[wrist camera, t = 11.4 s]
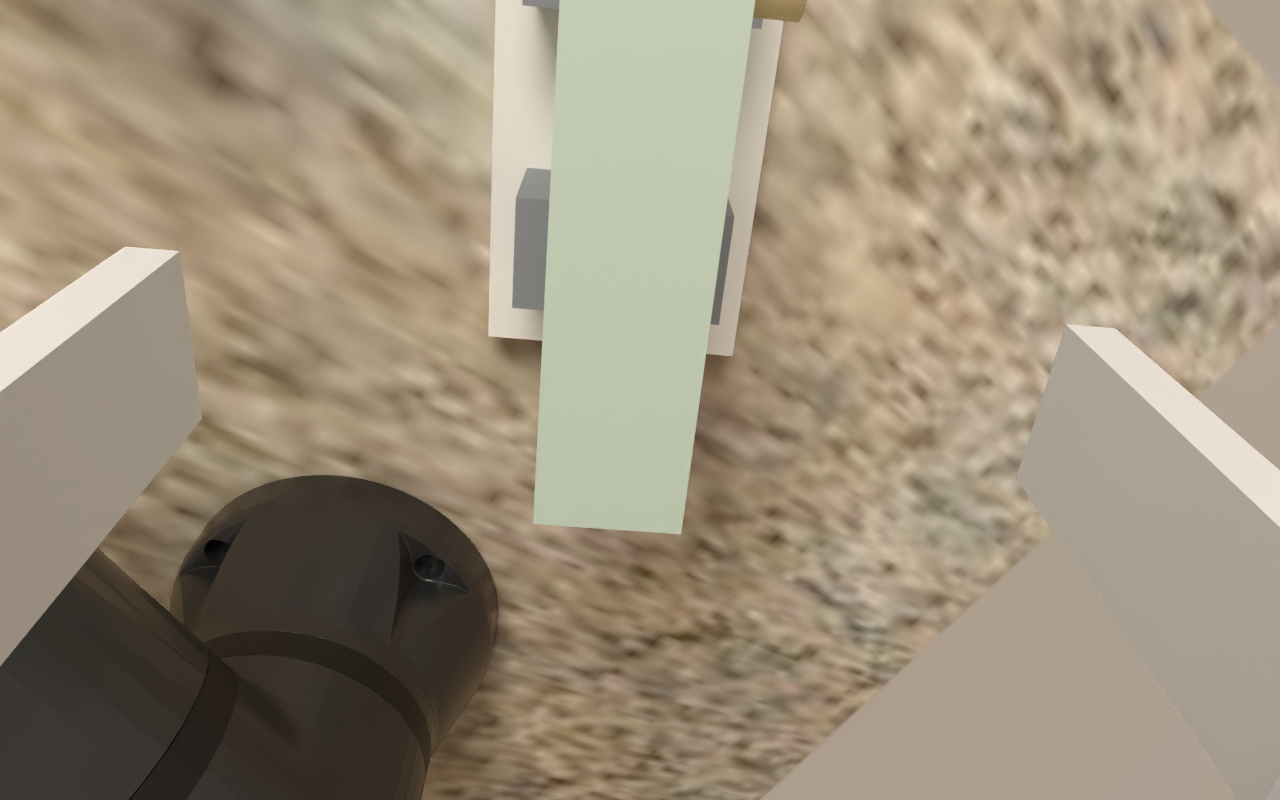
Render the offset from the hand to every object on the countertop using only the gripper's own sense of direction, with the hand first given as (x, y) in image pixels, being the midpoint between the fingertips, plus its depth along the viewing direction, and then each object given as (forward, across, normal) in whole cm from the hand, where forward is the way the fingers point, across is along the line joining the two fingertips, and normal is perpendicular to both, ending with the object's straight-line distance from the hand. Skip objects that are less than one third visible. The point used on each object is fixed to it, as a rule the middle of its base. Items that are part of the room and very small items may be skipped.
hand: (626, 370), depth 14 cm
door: (+22, 0, 0) cm, 23 cm away
